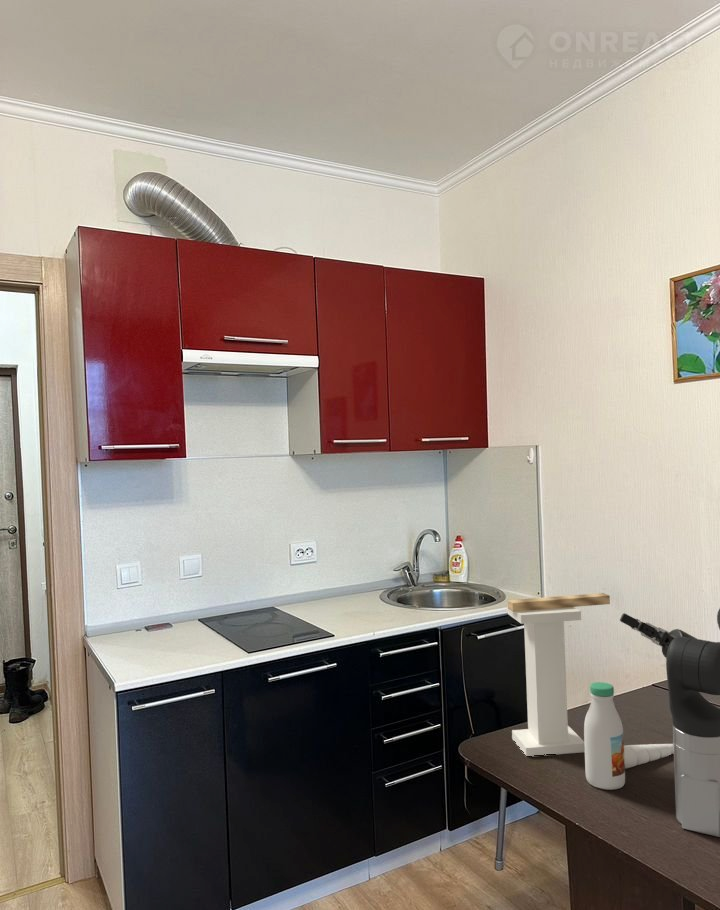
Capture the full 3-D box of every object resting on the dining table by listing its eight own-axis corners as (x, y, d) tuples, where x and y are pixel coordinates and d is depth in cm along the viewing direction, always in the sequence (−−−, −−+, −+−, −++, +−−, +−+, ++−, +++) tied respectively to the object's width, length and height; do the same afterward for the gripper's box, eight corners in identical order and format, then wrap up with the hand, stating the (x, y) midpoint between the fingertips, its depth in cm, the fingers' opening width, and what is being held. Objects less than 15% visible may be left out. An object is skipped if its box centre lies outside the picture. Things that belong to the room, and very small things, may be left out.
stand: (568, 734, 166) (563, 601, 165) (586, 752, 156) (580, 611, 156) (512, 738, 164) (507, 605, 164) (526, 756, 154) (520, 615, 154)
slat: (603, 601, 164) (603, 593, 164) (609, 604, 161) (609, 595, 161) (508, 608, 161) (507, 600, 161) (512, 611, 158) (512, 603, 158)
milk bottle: (600, 793, 137) (596, 693, 137) (578, 776, 144) (574, 681, 144) (633, 787, 139) (629, 688, 139) (610, 770, 146) (606, 677, 146)
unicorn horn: (707, 754, 153) (706, 732, 153) (619, 775, 145) (618, 752, 145) (690, 746, 157) (689, 725, 157) (604, 765, 149) (603, 743, 149)
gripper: (678, 630, 170) (623, 600, 169) (713, 645, 156) (653, 613, 155) (665, 657, 170) (609, 627, 169) (698, 675, 156) (638, 643, 155)
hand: (630, 621), depth 162 cm, fingers open, 8 cm apart
